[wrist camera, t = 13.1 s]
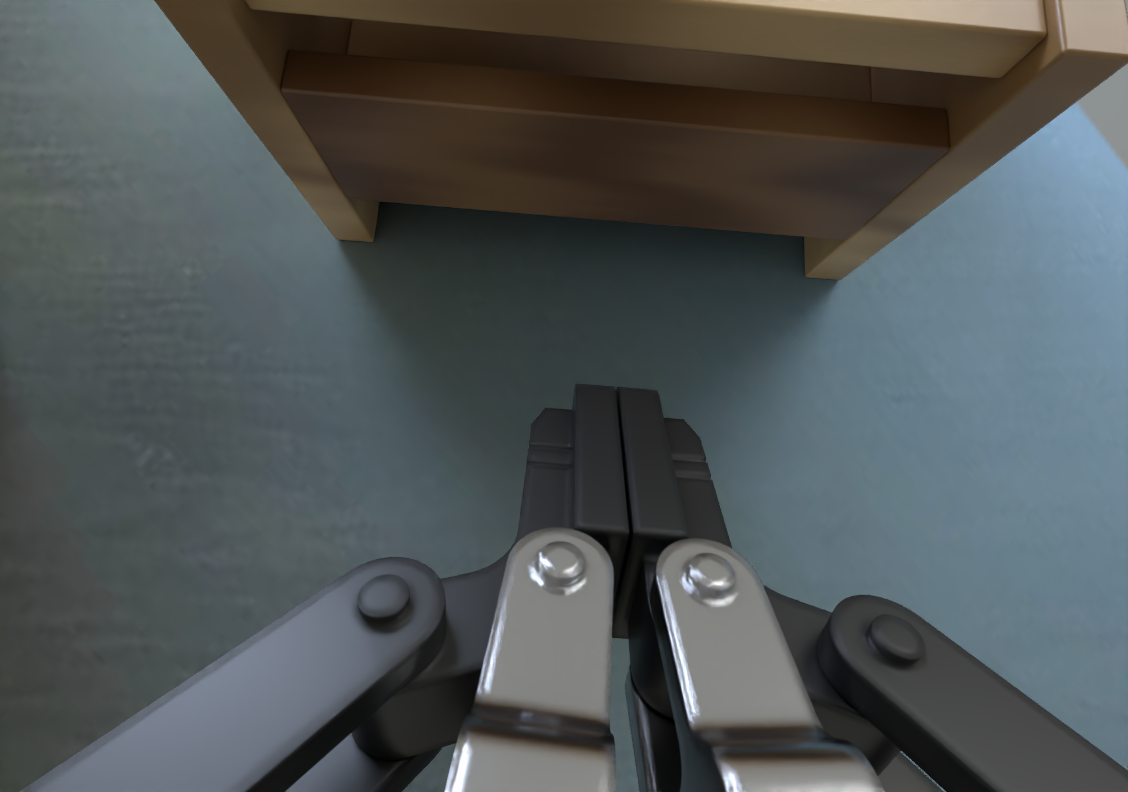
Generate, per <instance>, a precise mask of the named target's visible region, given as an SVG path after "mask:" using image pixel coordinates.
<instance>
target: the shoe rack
mask: <svg viewBox="0 0 1128 792" xmlns="http://www.w3.org/2000/svg"><path fill="white" fill-rule="evenodd" d="M154 1H155V2H156V3H157V5H158V6H159V7H160V9H161V10H162V11H163V12H164V14H165V15H166V16H167V18H168V19H169V20H170V22H171V23H172V24H173V26H174V27H175V28H176V30H177V31H178V32H179V34H180V35H181V36H182V37H183V39H184V40H185V41H186V43H187V44H188V45H189V47H190V48H191V49H192V51H193V52H194V53H195V55H196V56H197V57H198V58H199V60H200V61H201V62H202V64H203V65H204V66H205V68H206V69H207V70H208V72H209V73H210V74H211V76H212V77H213V78H214V79H215V81H216V82H217V83H218V85H219V86H220V87H221V89H222V90H223V91H224V93H225V94H226V95H227V97H228V98H229V99H230V101H231V102H232V103H233V104H234V106H235V107H236V108H237V110H238V111H239V112H240V114H241V115H242V116H243V118H244V119H245V120H246V122H247V123H248V124H249V125H250V127H251V128H252V129H253V131H254V132H255V133H256V135H257V136H258V137H259V139H260V140H261V141H262V143H263V144H264V145H265V146H266V148H267V149H268V150H269V152H270V153H271V154H272V156H273V157H274V158H275V160H276V161H277V162H278V164H279V165H280V166H281V168H282V169H283V170H284V171H285V173H286V174H287V175H288V177H289V178H290V179H291V181H292V182H293V183H294V185H295V186H296V187H297V189H298V190H299V191H300V192H301V194H302V195H303V196H304V198H305V199H306V200H307V202H308V203H309V204H310V206H311V207H312V208H313V210H314V211H315V212H316V213H317V215H318V216H319V217H320V219H321V220H322V221H323V223H324V224H325V225H326V227H327V228H328V229H329V231H330V232H331V233H332V234H333V236H334V237H335V238H336V239H340V240H352V241H365V242H373V241H374V236H375V229H376V222H377V216H378V209H379V202H380V201H381V202H393V203H405V204H417V205H429V206H441V207H453V208H465V209H477V210H489V211H501V212H513V213H526V214H538V215H550V216H562V217H574V218H586V219H598V220H610V221H622V222H634V223H646V224H658V225H670V226H682V227H694V228H706V229H718V230H730V231H742V232H754V233H766V234H778V235H790V236H802V237H804V247H805V276H806V277H810V278H823V279H835V280H841V279H843V278H844V277H845V276H847V275H848V274H849V273H851V272H852V271H853V270H855V269H856V268H857V267H858V266H860V265H861V264H862V263H864V262H865V261H866V260H868V259H869V258H870V257H872V256H873V255H874V254H876V253H877V252H878V251H880V250H881V249H882V248H884V247H885V246H886V245H888V244H889V243H890V242H892V241H893V240H894V239H896V238H897V237H898V236H900V235H901V234H902V233H904V232H905V231H906V230H907V229H909V228H910V227H911V226H913V225H914V224H915V223H917V222H918V221H919V220H921V219H922V218H923V217H925V216H926V215H927V214H929V213H930V212H931V211H933V210H934V209H935V208H937V207H938V206H939V205H941V204H942V203H943V202H945V201H946V200H947V199H949V198H950V197H951V196H952V195H954V194H955V193H956V192H958V191H959V190H960V189H962V188H963V187H964V186H966V185H967V184H968V183H970V182H971V181H972V180H974V179H975V178H976V177H978V176H979V175H980V174H982V173H983V172H984V171H986V170H987V169H988V168H990V167H991V166H992V165H994V164H995V163H996V162H998V161H999V160H1000V159H1001V158H1003V157H1004V156H1005V155H1007V154H1008V153H1009V152H1011V151H1012V150H1013V149H1015V148H1016V147H1017V146H1019V145H1020V144H1021V143H1023V142H1024V141H1025V140H1027V139H1028V138H1029V137H1031V136H1032V135H1033V134H1035V133H1036V132H1037V131H1039V130H1040V129H1041V128H1043V127H1044V126H1045V125H1047V124H1048V123H1049V122H1050V121H1052V120H1053V119H1054V118H1056V117H1057V116H1058V115H1060V114H1061V113H1062V112H1064V111H1065V110H1066V109H1068V108H1069V107H1070V106H1072V105H1073V104H1074V103H1076V102H1077V101H1078V100H1080V99H1081V98H1082V97H1083V96H1085V95H1086V94H1087V93H1089V92H1090V91H1091V90H1093V89H1094V88H1095V87H1097V86H1098V85H1099V84H1101V83H1102V82H1103V81H1105V80H1106V79H1107V78H1109V77H1110V76H1111V75H1113V74H1114V73H1115V72H1117V71H1118V70H1119V69H1121V68H1122V67H1123V66H1125V65H1126V64H1127V63H1128V16H1127V9H1126V3H1125V0H154Z"/></svg>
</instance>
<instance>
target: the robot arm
mask: <svg viewBox="0 0 1128 792" xmlns="http://www.w3.org/2000/svg"><path fill="white" fill-rule="evenodd" d="M612 638H623V639H629V652H630V666H629V669H628V673H627V677H626V683H625V691H626V700H627V707H628V714H629V721H630V728H631V735H632V742H633V749H634V756H635V763H636V770H637V777H638V784H639V791H640V792H943V791H942V790H941V789H940V788H939V787H938V786H937V785H936V784H934V783H933V782H932V781H931V780H930V779H929V778H928V777H927V776H926V775H925V774H924V773H922V772H921V771H920V770H919V769H918V768H917V767H916V766H915V765H914V764H913V763H912V762H910V761H909V760H908V759H907V758H906V757H905V756H904V755H903V754H902V753H901V752H900V751H902V752H904V753H905V754H906V755H907V756H908V757H909V758H910V759H911V760H912V761H913V762H915V763H916V764H917V765H918V766H919V767H920V768H921V769H922V770H923V771H924V772H926V773H927V774H928V775H929V776H930V777H931V778H932V779H933V780H934V781H935V782H937V783H938V784H939V785H940V786H941V787H942V788H943V789H944V790H945V791H946V792H1128V770H1126V769H1125V768H1124V767H1122V766H1121V765H1120V764H1118V763H1117V762H1116V761H1114V760H1113V759H1112V758H1110V757H1109V756H1107V755H1106V754H1105V753H1103V752H1102V751H1101V750H1099V749H1098V748H1097V747H1095V746H1094V745H1093V744H1091V743H1090V742H1089V741H1087V740H1086V739H1084V738H1083V737H1082V736H1080V735H1079V734H1078V733H1076V732H1075V731H1074V730H1072V729H1071V728H1070V727H1068V726H1067V725H1066V724H1064V723H1063V722H1061V721H1060V720H1059V719H1057V718H1056V717H1055V716H1053V715H1052V714H1051V713H1049V712H1048V711H1047V710H1045V709H1044V708H1043V707H1041V706H1040V705H1038V704H1037V703H1036V702H1034V701H1033V700H1032V699H1030V698H1029V697H1028V696H1026V695H1025V694H1024V693H1022V692H1021V691H1020V690H1018V689H1017V688H1015V687H1014V686H1013V685H1011V684H1010V683H1009V682H1007V681H1006V680H1005V679H1003V678H1002V677H1001V676H999V675H998V674H997V673H995V672H994V671H992V670H991V669H990V668H988V667H987V666H986V665H984V664H983V663H982V662H980V661H979V660H978V659H976V658H975V657H974V656H972V655H971V654H969V653H968V652H967V651H965V650H964V649H963V648H961V647H960V646H959V645H957V644H956V643H955V642H953V641H952V640H951V639H949V638H948V637H946V636H945V635H944V634H942V633H941V632H940V631H938V630H937V629H936V628H934V627H933V626H932V625H930V624H929V623H928V622H926V621H925V620H923V619H922V618H921V617H919V616H918V615H916V614H915V613H913V612H912V611H910V610H909V609H907V608H905V607H903V606H902V605H900V604H898V603H895V602H893V601H890V600H888V599H884V598H881V597H877V596H871V595H856V596H851V597H848V598H845V599H844V600H842V601H841V602H840V603H839V604H838V605H837V606H836V607H835V609H834V611H833V612H832V613H831V612H828V611H826V610H823V609H820V608H817V607H814V606H811V605H809V604H806V603H803V602H800V601H797V600H794V599H792V598H789V597H786V596H784V595H781V594H779V593H777V592H775V591H773V590H771V589H769V588H768V587H766V586H765V585H763V584H762V582H761V579H760V577H759V575H758V573H757V572H756V570H755V569H754V568H753V566H752V565H751V564H750V563H749V562H748V561H747V560H746V559H745V558H744V557H743V556H742V555H740V554H739V553H738V552H736V551H735V550H733V549H732V546H731V543H730V540H729V536H728V533H727V529H726V526H725V522H724V519H723V515H722V512H721V509H720V505H719V502H718V498H717V495H716V491H715V488H714V484H713V481H712V480H711V474H710V471H709V467H708V464H707V463H706V457H705V453H704V450H703V447H702V443H701V440H700V437H699V436H698V435H697V434H696V433H695V432H694V431H693V430H692V428H691V427H690V426H689V425H688V424H687V423H686V422H685V420H684V419H673V418H663V413H662V409H661V404H660V399H659V394H658V392H657V390H649V389H637V388H626V387H617V388H616V390H615V387H612V386H601V385H589V384H578V383H576V384H575V389H574V397H573V406H572V410H565V409H553V408H545V409H544V410H543V411H542V412H541V413H540V415H539V416H538V417H537V418H536V419H535V420H534V422H533V423H532V424H531V432H530V440H529V448H528V456H527V465H526V472H525V480H524V488H523V497H522V505H521V513H520V521H519V529H518V533H517V537H516V539H515V542H514V544H513V545H512V547H511V548H510V550H509V551H508V552H507V553H506V554H505V555H504V556H503V557H502V558H500V559H499V560H498V561H497V562H495V563H493V564H492V565H490V566H488V567H486V568H483V569H481V570H478V571H475V572H471V573H467V574H462V575H458V576H453V577H448V578H443V579H439V577H438V575H437V574H436V573H435V572H434V571H433V570H432V569H431V568H429V567H428V566H427V565H425V564H423V563H421V562H419V561H417V560H413V559H409V558H402V557H388V558H381V559H377V560H373V561H370V562H367V563H365V564H362V565H360V566H358V567H356V568H355V569H353V570H351V571H350V572H348V573H347V574H345V575H344V576H342V577H341V578H339V579H338V580H336V581H335V582H333V583H332V584H330V585H329V586H327V587H326V588H324V589H323V590H321V591H320V592H318V593H317V594H315V595H314V596H312V597H311V598H309V599H308V600H306V601H305V602H303V603H302V604H300V605H299V606H297V607H296V608H294V609H293V610H291V611H290V612H288V613H287V614H285V615H284V616H282V617H281V618H279V619H278V620H276V621H275V622H273V623H272V624H270V625H269V626H267V627H266V628H264V629H263V630H261V631H260V632H258V633H257V634H255V635H254V636H252V637H251V638H249V639H248V640H246V641H245V642H243V643H242V644H240V645H239V646H237V647H236V648H234V649H233V650H231V651H230V652H228V653H227V654H225V655H224V656H222V657H221V658H219V659H218V660H216V661H215V662H213V663H212V664H210V665H209V666H207V667H206V668H204V669H203V670H201V671H200V672H198V673H197V674H195V675H194V676H192V677H191V678H189V679H188V680H186V681H185V682H183V683H182V684H180V685H179V686H177V687H176V688H174V689H173V690H171V691H170V692H168V693H167V694H165V695H164V696H162V697H161V698H159V699H158V700H156V701H155V702H153V703H152V704H150V705H149V706H147V707H146V708H144V709H143V710H141V711H140V712H138V713H137V714H135V715H134V716H132V717H131V718H129V719H128V720H126V721H125V722H123V723H122V724H120V725H119V726H117V727H116V728H114V729H113V730H111V731H110V732H108V733H107V734H105V735H104V736H102V737H101V738H99V739H98V740H96V741H95V742H93V743H92V744H90V745H89V746H87V747H86V748H84V749H83V750H81V751H80V752H78V753H77V754H75V755H74V756H72V757H71V758H69V759H68V760H66V761H65V762H63V763H62V764H60V765H59V766H57V767H56V768H54V769H53V770H51V771H50V772H48V773H47V774H45V775H44V776H42V777H41V778H39V779H38V780H36V781H35V782H33V783H32V784H30V785H29V786H27V787H26V788H24V789H23V790H21V791H20V792H402V791H403V790H404V789H405V788H406V787H407V786H408V784H409V783H410V782H411V781H412V780H413V779H414V778H415V777H416V776H417V775H418V774H419V773H420V772H421V771H422V770H423V769H424V768H425V767H426V766H427V765H428V764H429V763H430V762H431V761H432V760H433V759H434V757H435V756H436V755H437V754H438V753H439V751H440V750H441V748H442V747H445V746H448V745H451V744H455V743H456V747H455V751H454V755H453V759H452V763H451V767H450V771H449V775H448V779H447V783H446V787H445V791H444V792H615V770H616V765H615V742H614V736H613V734H611V732H610V683H611V650H612Z"/></svg>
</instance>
